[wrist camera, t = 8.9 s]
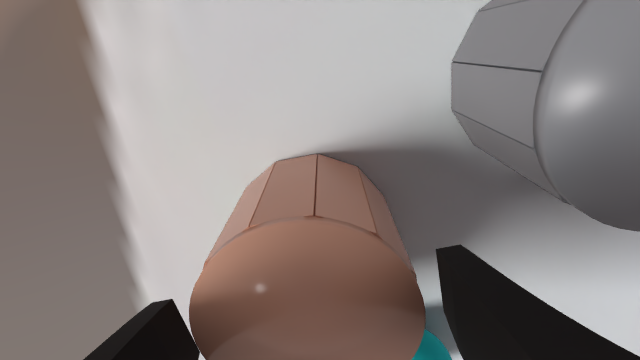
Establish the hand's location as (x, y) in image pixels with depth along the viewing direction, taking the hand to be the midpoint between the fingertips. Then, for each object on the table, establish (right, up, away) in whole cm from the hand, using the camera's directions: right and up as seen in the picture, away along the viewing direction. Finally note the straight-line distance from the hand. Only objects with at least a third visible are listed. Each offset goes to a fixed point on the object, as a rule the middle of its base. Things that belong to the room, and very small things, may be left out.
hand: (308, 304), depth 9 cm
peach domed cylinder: (0, +1, +4) cm, 4 cm away
